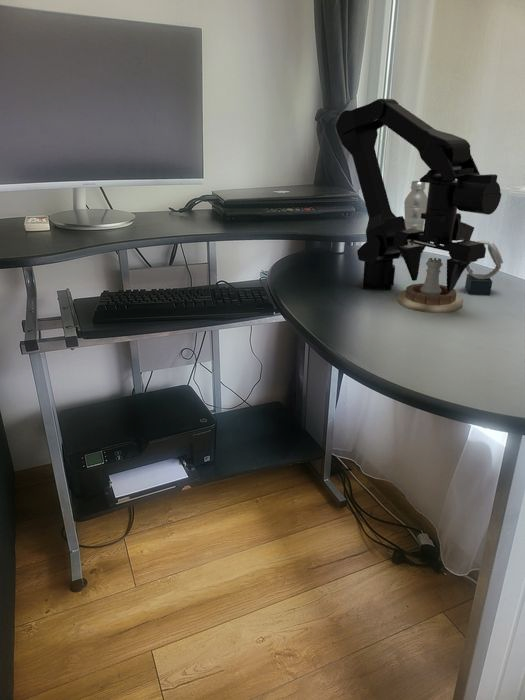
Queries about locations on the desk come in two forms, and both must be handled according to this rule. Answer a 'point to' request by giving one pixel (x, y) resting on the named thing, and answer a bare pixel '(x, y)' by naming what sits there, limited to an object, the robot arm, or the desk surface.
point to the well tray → (430, 300)
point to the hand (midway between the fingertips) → (431, 285)
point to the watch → (483, 283)
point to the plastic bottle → (415, 206)
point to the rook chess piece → (432, 278)
